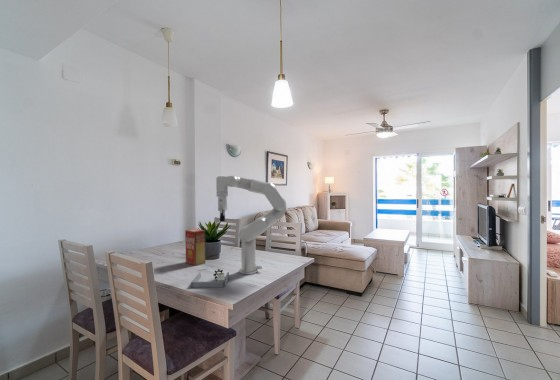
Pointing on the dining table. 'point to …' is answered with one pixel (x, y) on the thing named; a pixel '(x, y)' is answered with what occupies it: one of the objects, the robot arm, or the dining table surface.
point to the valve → (219, 275)
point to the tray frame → (208, 282)
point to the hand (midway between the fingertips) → (222, 221)
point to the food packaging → (195, 246)
